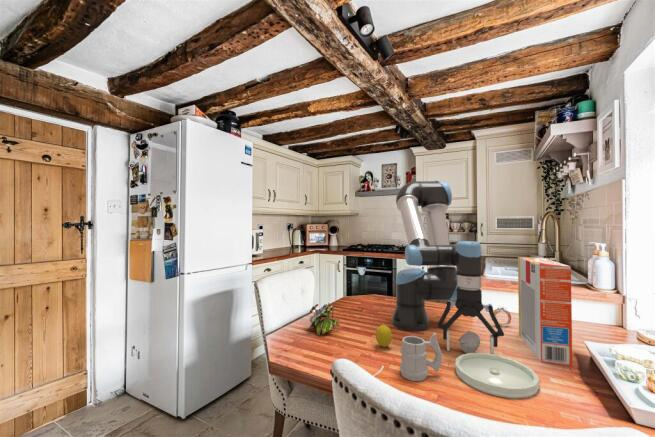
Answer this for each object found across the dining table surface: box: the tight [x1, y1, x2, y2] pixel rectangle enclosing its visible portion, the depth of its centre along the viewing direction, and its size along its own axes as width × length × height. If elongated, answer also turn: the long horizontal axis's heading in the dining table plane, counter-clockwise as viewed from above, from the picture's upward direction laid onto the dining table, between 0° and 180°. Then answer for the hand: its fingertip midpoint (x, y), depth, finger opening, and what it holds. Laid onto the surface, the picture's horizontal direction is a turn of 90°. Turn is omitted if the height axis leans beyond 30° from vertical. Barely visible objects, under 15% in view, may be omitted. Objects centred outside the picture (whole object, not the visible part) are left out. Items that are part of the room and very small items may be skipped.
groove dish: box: [455, 352, 540, 400], centre depth 83 cm, size 20×20×2 cm
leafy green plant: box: [309, 302, 341, 337], centre depth 119 cm, size 13×12×14 cm
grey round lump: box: [458, 330, 481, 354], centre depth 98 cm, size 6×7×7 cm
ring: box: [493, 306, 512, 328], centre depth 123 cm, size 7×3×8 cm, turn 76°
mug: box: [399, 332, 443, 382], centre depth 84 cm, size 8×12×12 cm, turn 87°
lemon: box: [375, 323, 393, 349], centre depth 103 cm, size 6×6×8 cm
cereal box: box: [517, 256, 573, 367], centre depth 101 cm, size 23×8×30 cm, turn 161°
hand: (469, 352), depth 98 cm, fingers open, 12 cm apart
